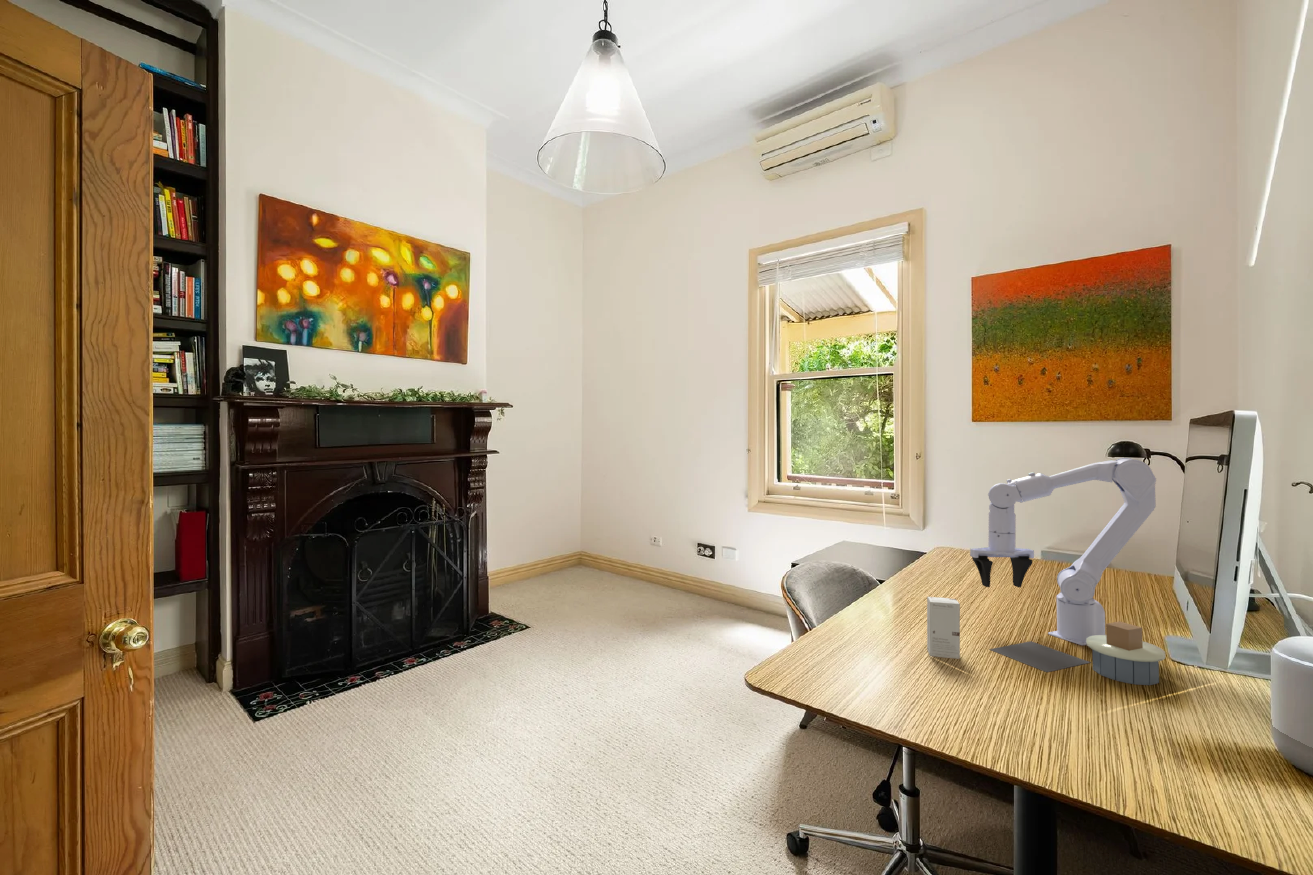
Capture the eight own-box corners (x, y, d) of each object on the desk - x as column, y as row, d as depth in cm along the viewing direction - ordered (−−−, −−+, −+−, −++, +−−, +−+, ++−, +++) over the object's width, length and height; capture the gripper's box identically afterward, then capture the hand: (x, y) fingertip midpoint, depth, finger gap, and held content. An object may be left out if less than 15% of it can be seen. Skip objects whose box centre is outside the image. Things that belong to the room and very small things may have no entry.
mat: (1031, 642, 128) (1031, 641, 128) (1091, 663, 116) (1091, 662, 116) (989, 650, 124) (989, 649, 124) (1046, 673, 112) (1046, 672, 112)
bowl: (1114, 661, 117) (1113, 637, 117) (1171, 680, 107) (1170, 655, 107) (1081, 668, 114) (1080, 644, 114) (1137, 689, 104) (1136, 662, 104)
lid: (1111, 635, 118) (1111, 613, 118) (1180, 656, 107) (1179, 631, 107) (1072, 643, 114) (1071, 620, 114) (1138, 665, 103) (1138, 639, 103)
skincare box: (930, 657, 121) (928, 601, 121) (926, 649, 125) (925, 596, 125) (961, 660, 119) (960, 603, 119) (957, 652, 124) (956, 597, 124)
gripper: (981, 534, 134) (980, 590, 134) (1042, 534, 134) (1041, 590, 134) (965, 529, 141) (965, 582, 141) (1023, 529, 141) (1023, 582, 141)
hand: (1001, 586), depth 138 cm, fingers open, 7 cm apart
